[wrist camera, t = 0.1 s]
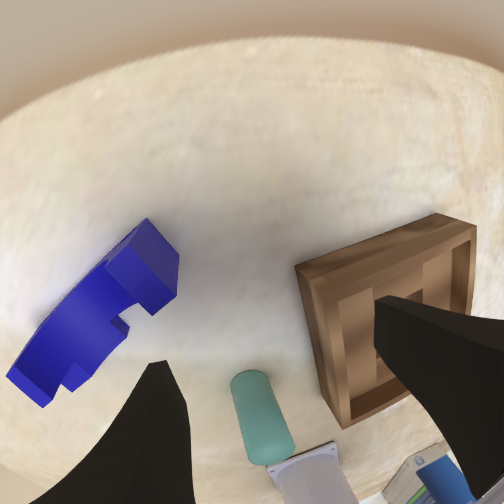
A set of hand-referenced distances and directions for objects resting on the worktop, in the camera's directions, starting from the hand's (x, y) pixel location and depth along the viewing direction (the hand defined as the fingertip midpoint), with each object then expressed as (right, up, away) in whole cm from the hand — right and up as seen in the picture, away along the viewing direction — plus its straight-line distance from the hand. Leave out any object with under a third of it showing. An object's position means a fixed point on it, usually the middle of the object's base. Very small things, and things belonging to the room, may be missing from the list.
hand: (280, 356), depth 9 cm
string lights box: (+27, -35, +28) cm, 52 cm away
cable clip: (-10, 0, +9) cm, 14 cm away
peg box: (+10, -1, +13) cm, 16 cm away
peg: (-1, -7, +13) cm, 14 cm away
